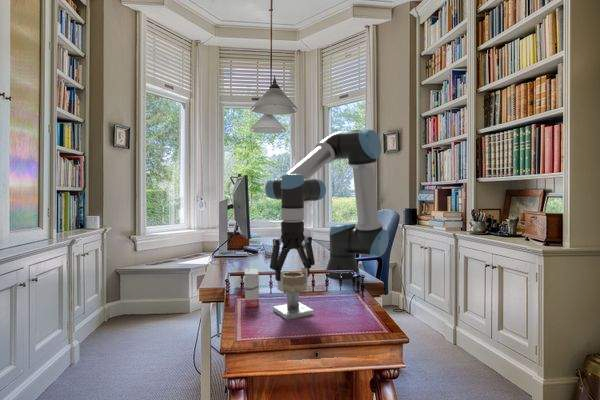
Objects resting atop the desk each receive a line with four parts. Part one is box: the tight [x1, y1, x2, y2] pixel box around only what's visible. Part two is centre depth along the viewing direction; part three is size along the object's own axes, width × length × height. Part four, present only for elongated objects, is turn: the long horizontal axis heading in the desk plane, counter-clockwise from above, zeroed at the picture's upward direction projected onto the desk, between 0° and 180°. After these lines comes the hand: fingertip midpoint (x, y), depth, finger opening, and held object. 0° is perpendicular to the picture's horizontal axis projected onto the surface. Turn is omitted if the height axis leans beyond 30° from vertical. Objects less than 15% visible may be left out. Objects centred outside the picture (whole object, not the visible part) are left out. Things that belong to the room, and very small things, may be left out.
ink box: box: [244, 268, 260, 308], centre depth 153 cm, size 9×5×12 cm, turn 5°
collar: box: [282, 271, 307, 293], centre depth 143 cm, size 8×8×5 cm
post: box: [272, 292, 315, 321], centre depth 143 cm, size 10×10×12 cm
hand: (292, 288), depth 143 cm, fingers closed on collar, 8 cm apart
